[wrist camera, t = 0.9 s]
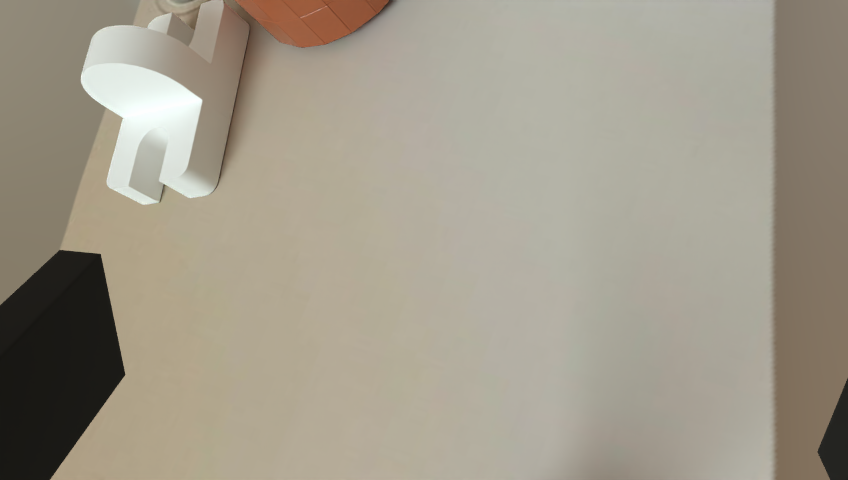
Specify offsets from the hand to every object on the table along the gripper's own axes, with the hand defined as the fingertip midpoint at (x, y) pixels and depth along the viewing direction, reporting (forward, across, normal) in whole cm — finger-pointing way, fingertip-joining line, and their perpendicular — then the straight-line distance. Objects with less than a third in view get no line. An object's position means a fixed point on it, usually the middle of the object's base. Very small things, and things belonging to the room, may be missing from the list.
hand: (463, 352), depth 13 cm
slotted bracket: (+35, -20, -10) cm, 42 cm away
